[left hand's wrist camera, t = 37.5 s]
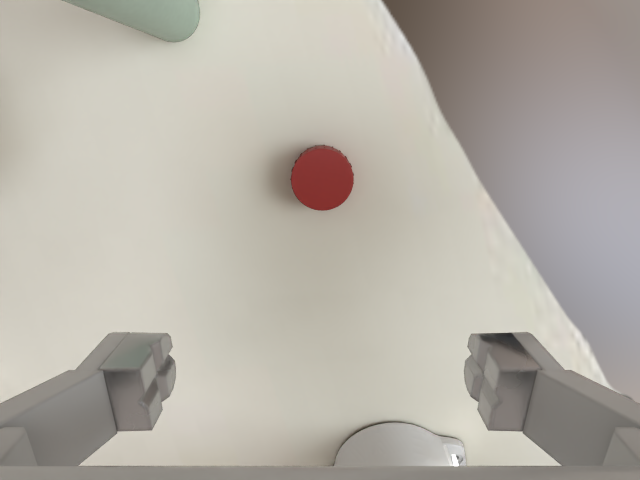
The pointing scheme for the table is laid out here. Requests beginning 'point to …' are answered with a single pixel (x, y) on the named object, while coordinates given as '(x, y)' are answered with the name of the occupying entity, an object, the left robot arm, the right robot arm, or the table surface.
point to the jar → (149, 15)
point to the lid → (322, 178)
